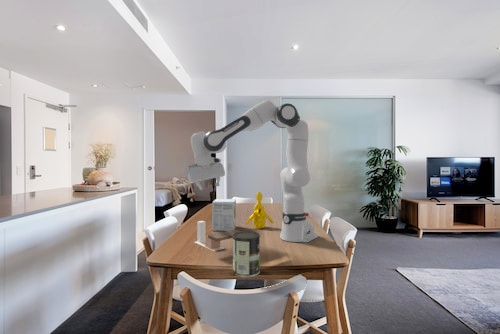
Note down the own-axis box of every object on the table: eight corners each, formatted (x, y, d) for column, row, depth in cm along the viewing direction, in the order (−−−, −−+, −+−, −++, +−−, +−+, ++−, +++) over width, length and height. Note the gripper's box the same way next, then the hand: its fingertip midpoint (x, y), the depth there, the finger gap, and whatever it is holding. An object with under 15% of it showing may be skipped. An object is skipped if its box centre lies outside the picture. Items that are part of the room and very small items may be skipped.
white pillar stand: (204, 242, 139) (204, 220, 139) (224, 250, 125) (224, 226, 125) (194, 244, 135) (194, 221, 135) (213, 253, 121) (213, 228, 121)
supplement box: (233, 231, 162) (233, 202, 161) (211, 230, 163) (211, 201, 162) (236, 226, 175) (236, 198, 175) (216, 225, 176) (216, 198, 175)
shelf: (235, 250, 127) (235, 229, 127) (244, 254, 122) (244, 232, 122) (207, 257, 118) (207, 235, 117) (216, 261, 112) (216, 238, 112)
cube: (214, 244, 131) (214, 234, 131) (220, 247, 127) (220, 236, 127) (205, 246, 128) (205, 235, 128) (211, 249, 124) (211, 238, 124)
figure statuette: (246, 229, 167) (246, 193, 167) (244, 226, 175) (245, 192, 174) (274, 228, 169) (274, 193, 168) (272, 225, 177) (272, 191, 176)
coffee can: (256, 265, 108) (257, 230, 108) (262, 276, 98) (262, 237, 98) (231, 267, 107) (231, 231, 106) (233, 278, 96) (234, 239, 96)
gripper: (187, 164, 135) (193, 191, 134) (223, 158, 147) (229, 183, 146) (183, 166, 140) (189, 192, 140) (218, 160, 152) (223, 184, 151)
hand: (209, 188), depth 143 cm, fingers open, 8 cm apart
